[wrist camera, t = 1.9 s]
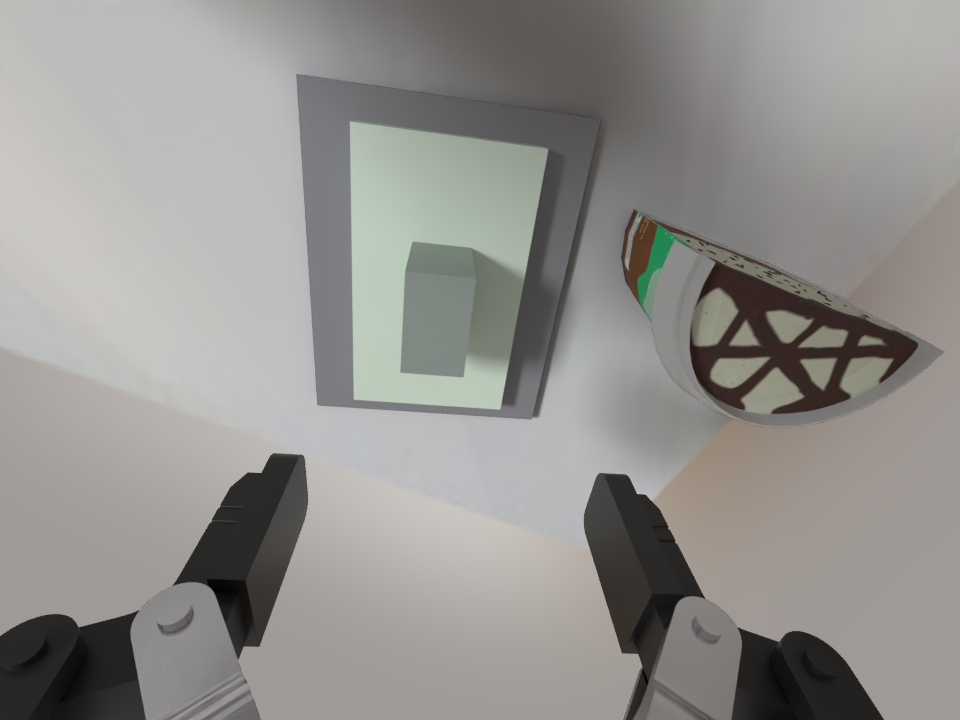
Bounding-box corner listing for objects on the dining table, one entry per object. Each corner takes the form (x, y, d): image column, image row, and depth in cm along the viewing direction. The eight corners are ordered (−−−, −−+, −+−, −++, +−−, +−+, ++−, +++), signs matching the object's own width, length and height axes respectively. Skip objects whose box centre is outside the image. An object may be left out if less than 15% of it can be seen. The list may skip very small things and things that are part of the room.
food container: (560, 300, 27) (614, 397, 18) (610, 199, 24) (700, 256, 15) (729, 357, 30) (844, 464, 21) (790, 272, 27) (953, 355, 18)
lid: (357, 388, 28) (338, 450, 23) (354, 120, 21) (325, 127, 16) (498, 398, 29) (508, 459, 24) (543, 146, 22) (571, 160, 17)
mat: (319, 399, 29) (317, 405, 29) (300, 74, 20) (296, 74, 20) (530, 413, 31) (531, 419, 30) (597, 118, 22) (601, 119, 21)
